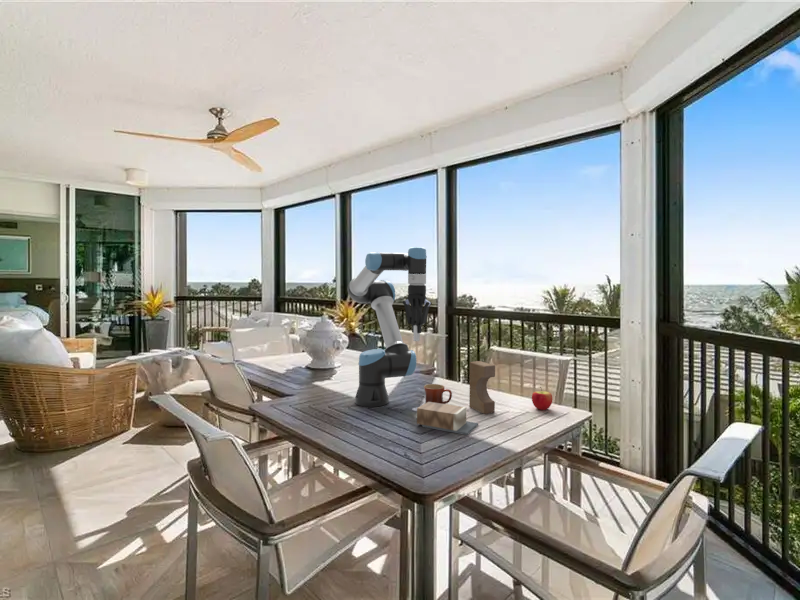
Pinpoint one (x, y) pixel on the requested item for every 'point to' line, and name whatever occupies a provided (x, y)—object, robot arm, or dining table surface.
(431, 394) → the mug
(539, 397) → the apple
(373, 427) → the dining table surface
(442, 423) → the brown and cream block
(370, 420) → the dining table surface
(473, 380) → the decorative block
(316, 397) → the dining table surface
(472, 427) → the mat
